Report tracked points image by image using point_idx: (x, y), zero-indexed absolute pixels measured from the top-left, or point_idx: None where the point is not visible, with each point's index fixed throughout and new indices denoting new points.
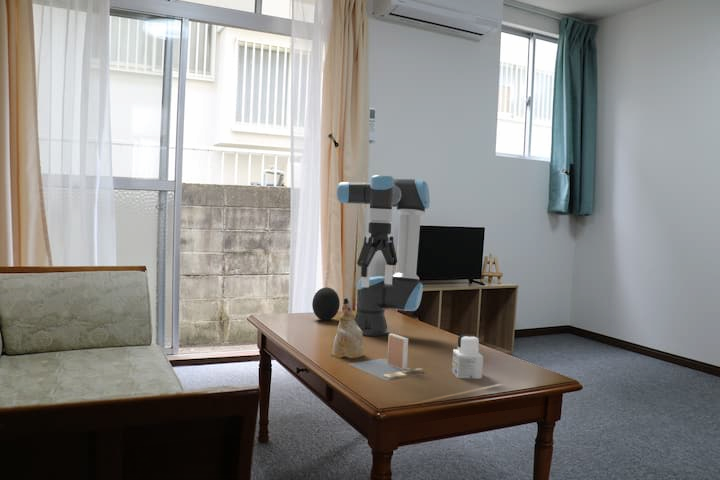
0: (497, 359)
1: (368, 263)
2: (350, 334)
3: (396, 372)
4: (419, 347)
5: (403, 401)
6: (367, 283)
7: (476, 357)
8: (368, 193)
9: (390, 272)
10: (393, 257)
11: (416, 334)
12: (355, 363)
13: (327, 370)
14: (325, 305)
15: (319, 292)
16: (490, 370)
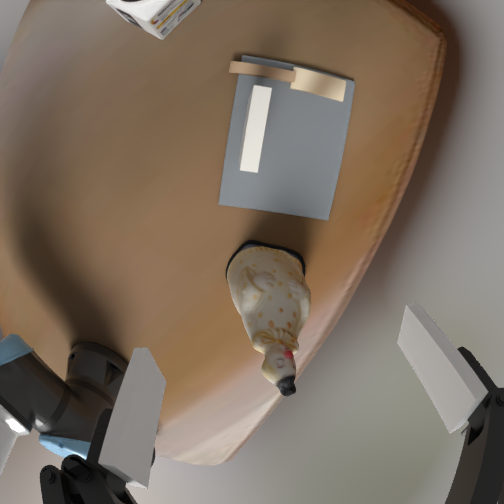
0: (15, 88)
1: (502, 415)
2: (292, 287)
3: (304, 89)
4: (68, 239)
5: (396, 17)
6: (429, 318)
7: None
8: None
9: (132, 420)
10: None
11: (31, 310)
12: (312, 211)
13: (380, 218)
14: None
15: None
16: (84, 26)
